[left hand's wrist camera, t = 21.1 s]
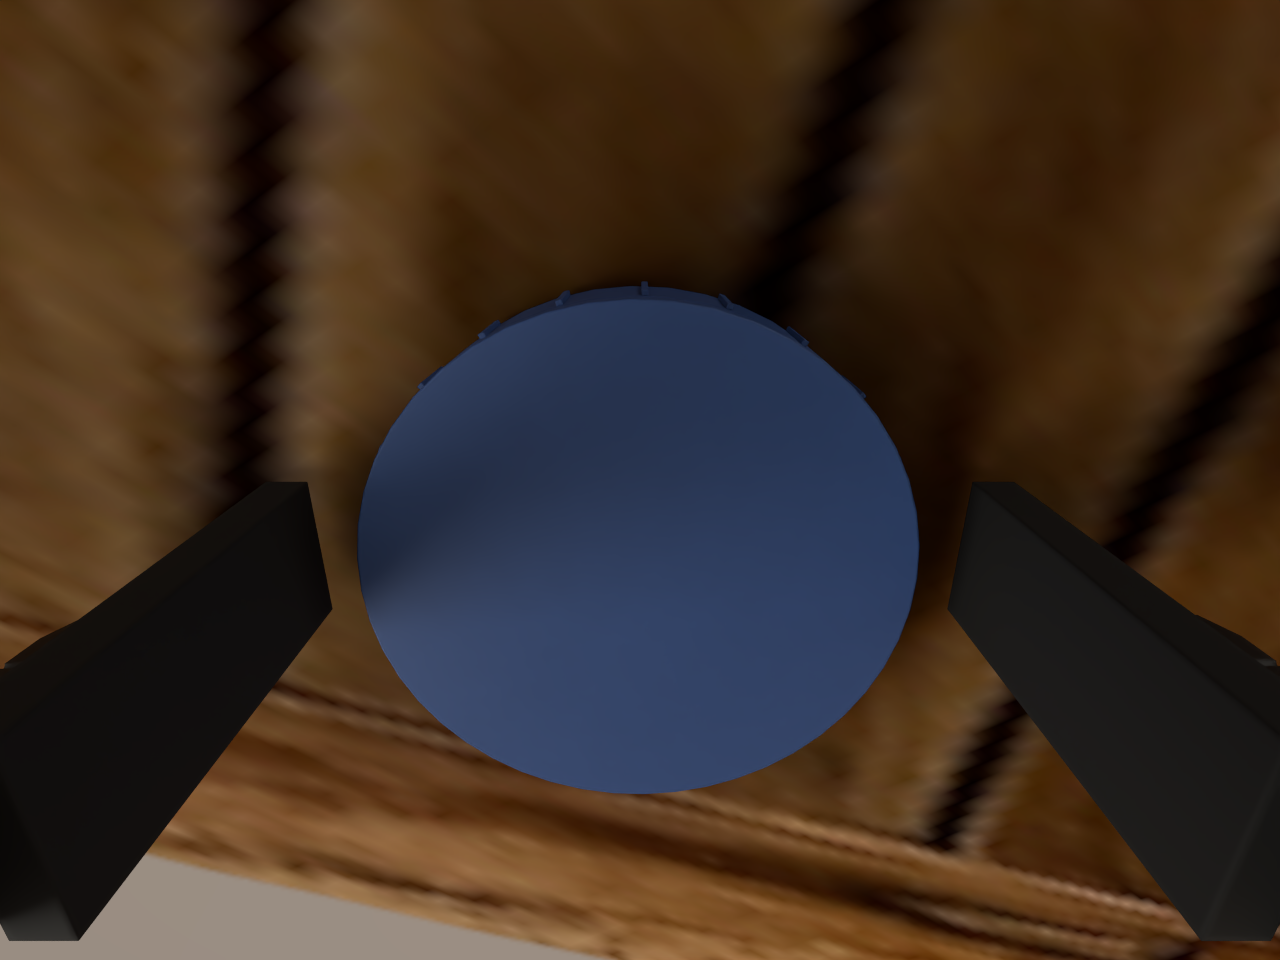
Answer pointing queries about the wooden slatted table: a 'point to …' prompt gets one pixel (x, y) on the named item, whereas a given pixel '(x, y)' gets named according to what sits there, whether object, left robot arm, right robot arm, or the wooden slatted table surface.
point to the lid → (638, 542)
